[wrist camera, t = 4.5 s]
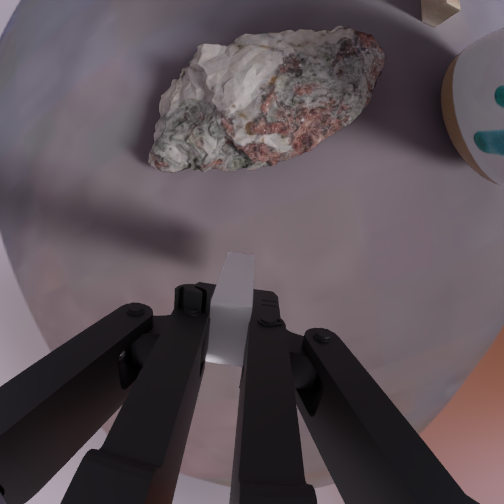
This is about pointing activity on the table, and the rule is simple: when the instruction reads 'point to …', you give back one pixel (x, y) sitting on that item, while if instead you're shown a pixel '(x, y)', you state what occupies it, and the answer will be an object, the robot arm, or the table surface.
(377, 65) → the mineral rock
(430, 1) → the u-shaped wooden frame
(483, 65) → the vase
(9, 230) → the table surface
